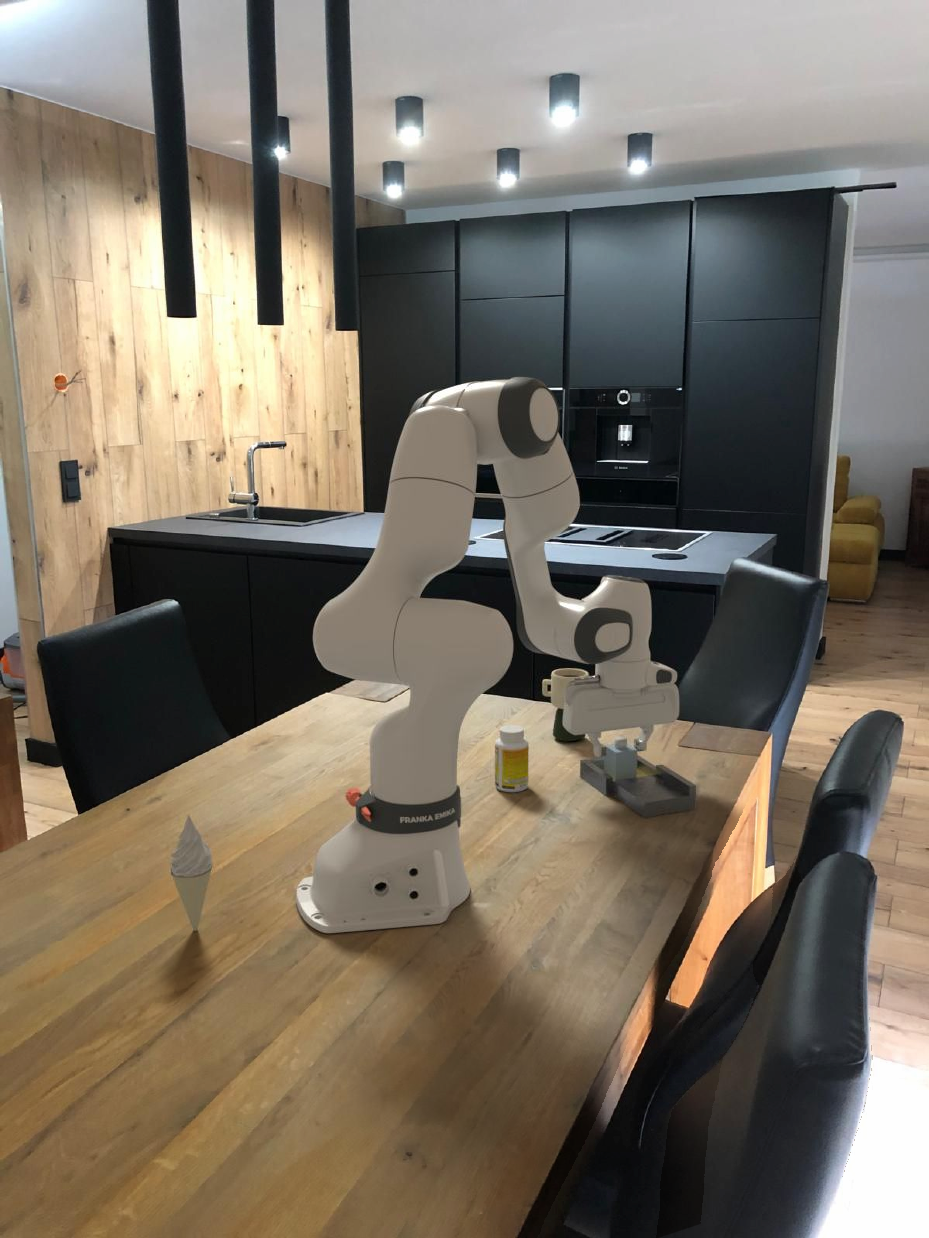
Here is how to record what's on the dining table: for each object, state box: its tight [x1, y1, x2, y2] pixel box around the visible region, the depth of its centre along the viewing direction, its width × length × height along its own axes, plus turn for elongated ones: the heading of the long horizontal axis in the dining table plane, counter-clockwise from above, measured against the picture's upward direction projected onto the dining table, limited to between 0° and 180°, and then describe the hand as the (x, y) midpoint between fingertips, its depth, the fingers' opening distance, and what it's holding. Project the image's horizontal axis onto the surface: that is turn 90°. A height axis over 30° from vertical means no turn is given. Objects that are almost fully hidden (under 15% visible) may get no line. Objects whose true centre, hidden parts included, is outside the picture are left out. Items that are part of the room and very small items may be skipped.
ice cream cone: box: [169, 814, 214, 932], centre depth 119 cm, size 5×5×15 cm
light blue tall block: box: [603, 736, 638, 781], centre depth 166 cm, size 4×4×6 cm
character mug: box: [541, 667, 590, 742], centre depth 189 cm, size 11×7×13 cm, turn 68°
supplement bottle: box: [494, 724, 529, 793], centre depth 165 cm, size 6×6×10 cm
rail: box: [579, 754, 697, 819], centre depth 163 cm, size 10×19×4 cm, turn 20°
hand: (620, 752), depth 166 cm, fingers open, 6 cm apart
